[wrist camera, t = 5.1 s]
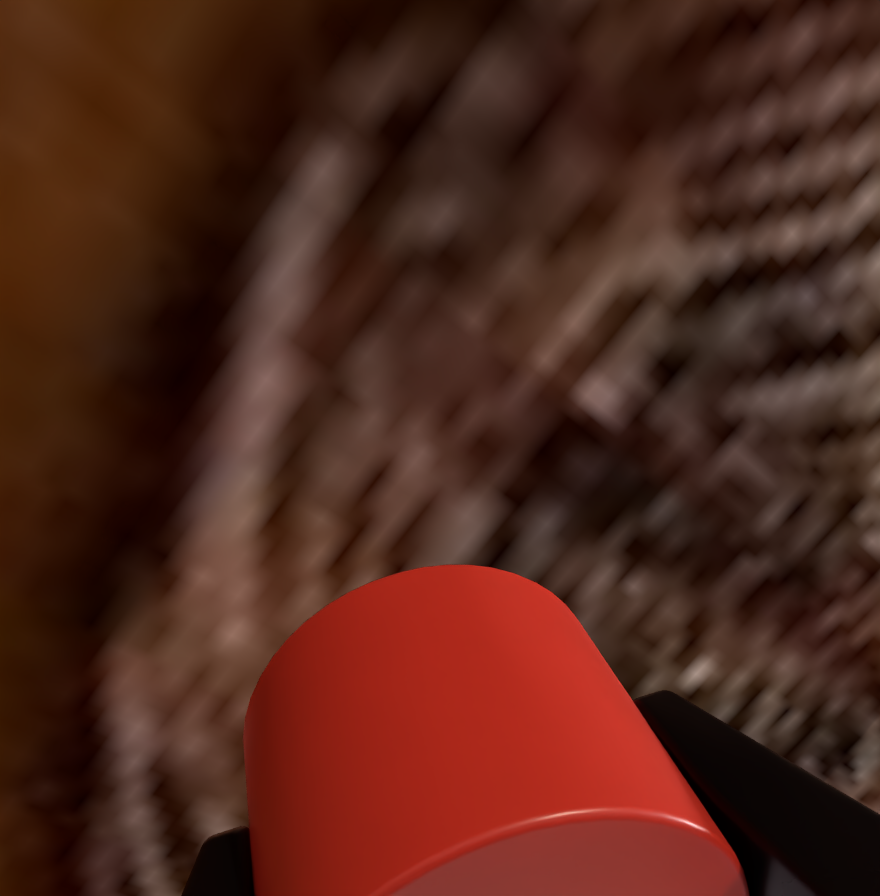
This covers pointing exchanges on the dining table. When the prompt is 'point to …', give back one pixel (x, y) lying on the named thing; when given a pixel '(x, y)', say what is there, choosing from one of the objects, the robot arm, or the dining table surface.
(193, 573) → the dining table surface
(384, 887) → the red cylinder
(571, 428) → the dining table surface
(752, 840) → the robot arm
